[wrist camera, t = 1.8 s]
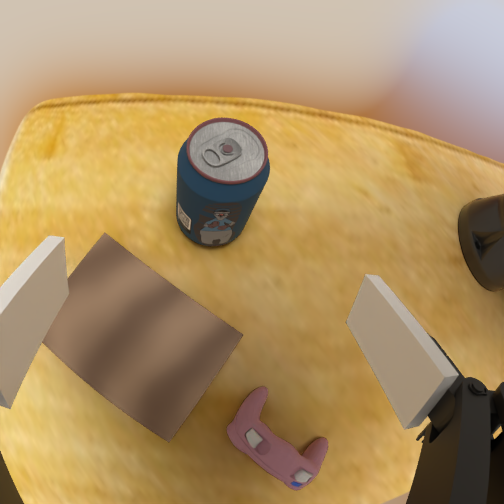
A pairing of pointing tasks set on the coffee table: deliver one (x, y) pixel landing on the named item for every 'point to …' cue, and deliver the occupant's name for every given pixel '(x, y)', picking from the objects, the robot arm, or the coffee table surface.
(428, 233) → the coffee table surface
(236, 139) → the soda can
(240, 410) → the video game controller
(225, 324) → the walnut board
